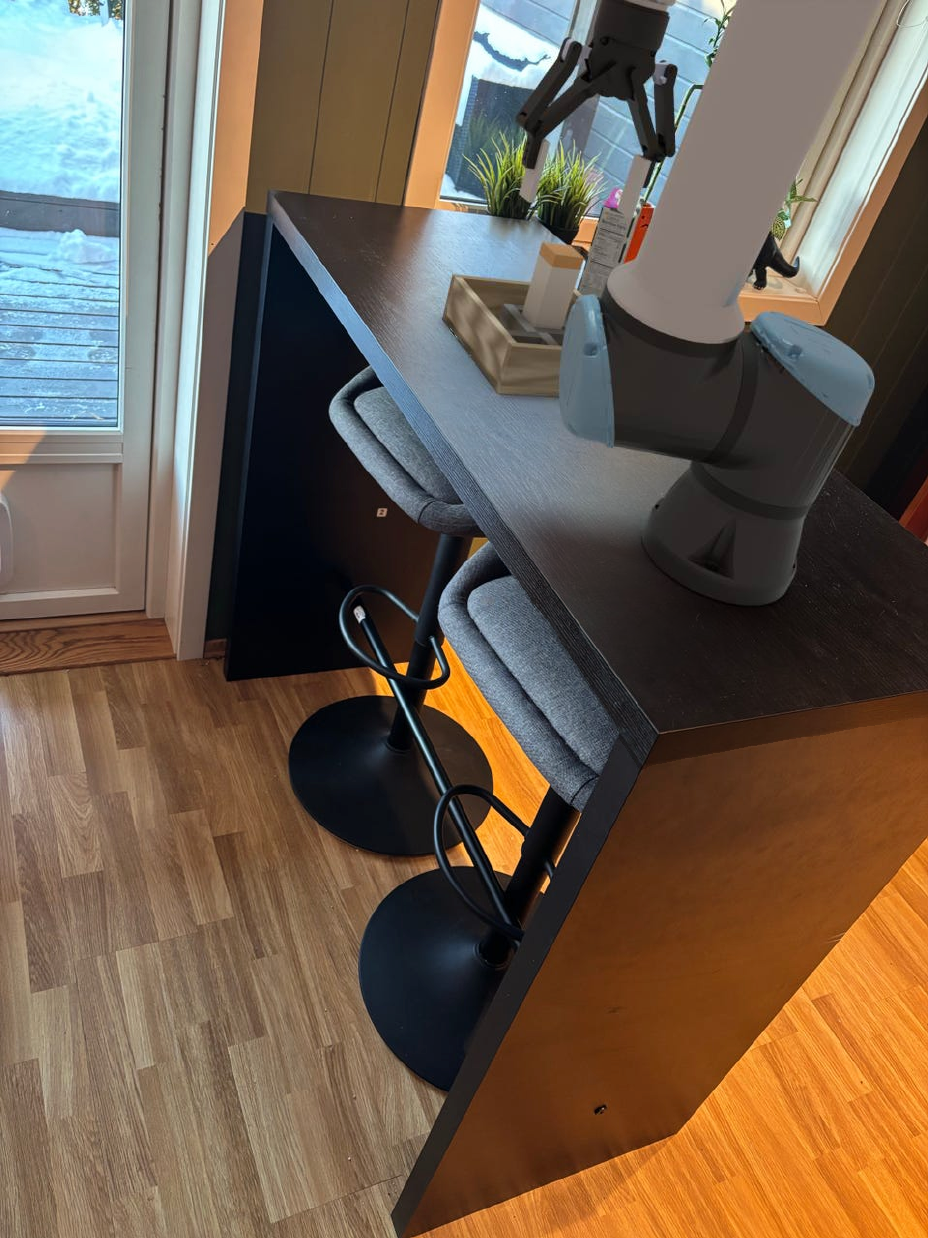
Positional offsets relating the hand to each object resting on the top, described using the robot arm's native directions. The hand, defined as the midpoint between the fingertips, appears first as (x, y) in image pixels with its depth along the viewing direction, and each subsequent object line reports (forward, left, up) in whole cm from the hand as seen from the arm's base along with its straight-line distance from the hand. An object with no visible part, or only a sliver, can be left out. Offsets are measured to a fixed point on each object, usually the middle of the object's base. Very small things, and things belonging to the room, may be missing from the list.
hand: (576, 206), depth 113 cm
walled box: (-3, +1, -18) cm, 19 cm away
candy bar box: (+13, -15, -19) cm, 27 cm away
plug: (0, 0, -17) cm, 17 cm away
